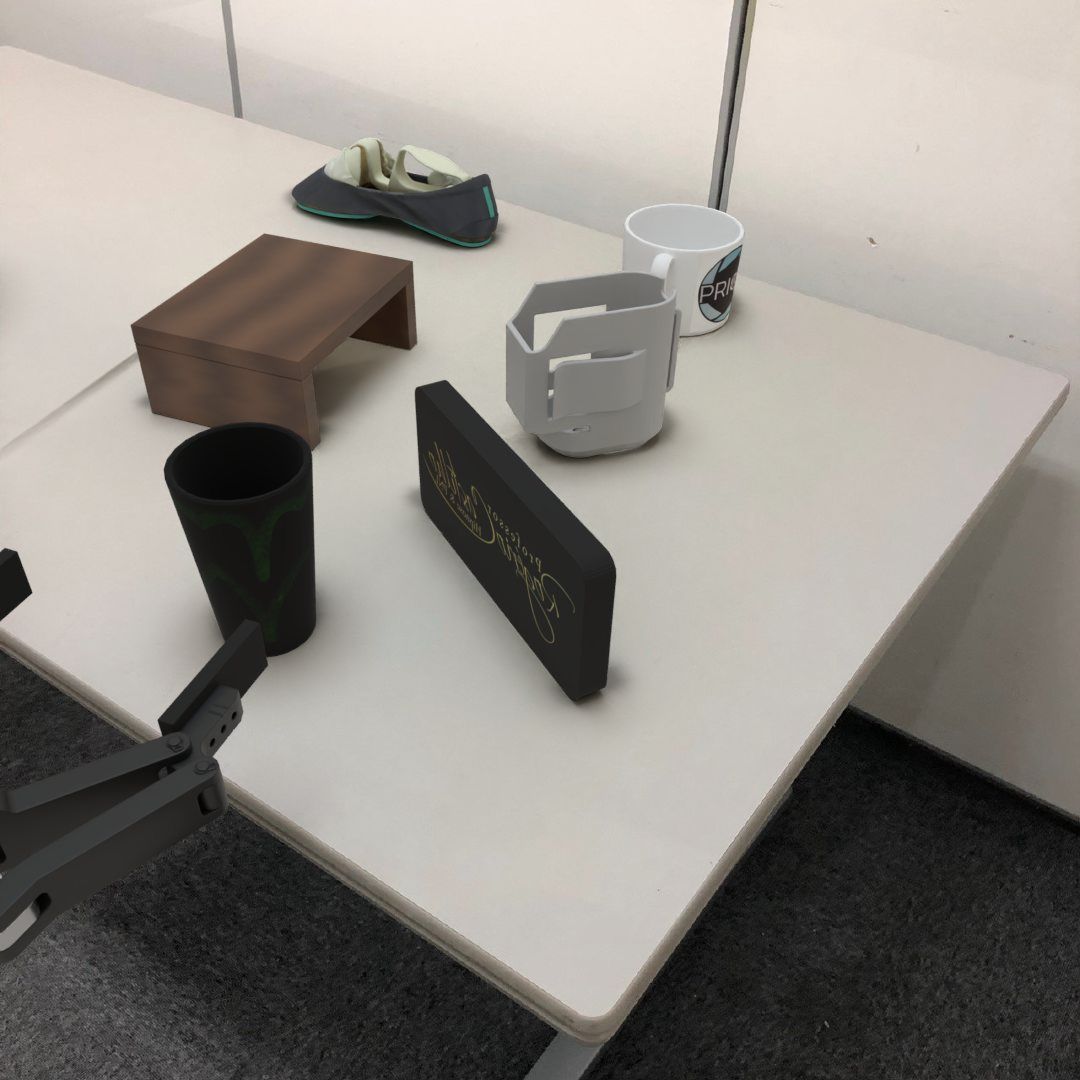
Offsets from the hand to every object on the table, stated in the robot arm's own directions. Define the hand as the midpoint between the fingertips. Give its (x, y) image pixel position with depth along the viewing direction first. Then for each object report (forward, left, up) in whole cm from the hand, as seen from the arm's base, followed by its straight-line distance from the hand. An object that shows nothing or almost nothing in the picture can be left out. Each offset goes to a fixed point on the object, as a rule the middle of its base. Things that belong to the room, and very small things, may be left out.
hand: (134, 604), depth 51 cm
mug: (+12, +58, -10) cm, 60 cm away
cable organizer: (+11, +36, -10) cm, 38 cm away
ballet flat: (-21, +68, -10) cm, 71 cm away
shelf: (-14, +36, -10) cm, 39 cm away
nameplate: (+12, +18, -10) cm, 23 cm away
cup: (0, +10, -10) cm, 14 cm away
